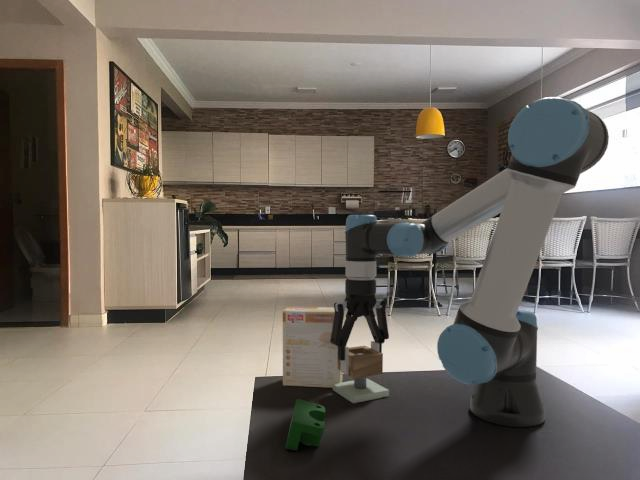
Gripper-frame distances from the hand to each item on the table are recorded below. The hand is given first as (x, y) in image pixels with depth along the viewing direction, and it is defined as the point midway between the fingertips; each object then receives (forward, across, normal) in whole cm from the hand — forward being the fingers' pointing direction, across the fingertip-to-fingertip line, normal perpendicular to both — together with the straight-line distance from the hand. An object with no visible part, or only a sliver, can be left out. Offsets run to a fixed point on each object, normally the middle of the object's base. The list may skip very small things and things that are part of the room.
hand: (360, 370), depth 114 cm
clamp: (+6, +22, +17) cm, 29 cm away
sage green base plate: (+6, 0, 0) cm, 6 cm away
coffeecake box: (+6, +7, -12) cm, 15 cm away
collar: (0, 0, 0) cm, 0 cm away
